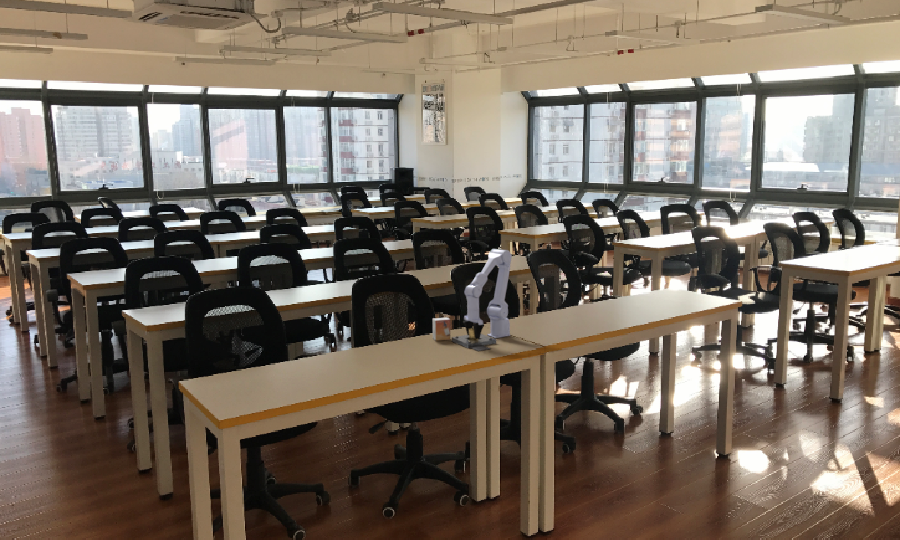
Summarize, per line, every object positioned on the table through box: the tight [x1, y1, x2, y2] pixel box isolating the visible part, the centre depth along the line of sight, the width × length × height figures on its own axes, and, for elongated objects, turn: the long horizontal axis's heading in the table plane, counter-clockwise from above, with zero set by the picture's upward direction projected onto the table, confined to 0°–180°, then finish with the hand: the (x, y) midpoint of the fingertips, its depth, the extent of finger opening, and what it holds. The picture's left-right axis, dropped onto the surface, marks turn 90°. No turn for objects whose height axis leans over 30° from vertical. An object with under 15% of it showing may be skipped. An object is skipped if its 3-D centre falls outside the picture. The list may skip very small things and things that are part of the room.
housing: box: [451, 333, 497, 349], centre depth 350 cm, size 16×16×2 cm
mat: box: [469, 345, 492, 352], centre depth 338 cm, size 7×7×1 cm
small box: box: [432, 316, 452, 342], centre depth 357 cm, size 8×6×10 cm
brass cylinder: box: [469, 327, 478, 341], centre depth 350 cm, size 5×5×7 cm
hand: (473, 336), depth 350 cm, fingers open, 7 cm apart
